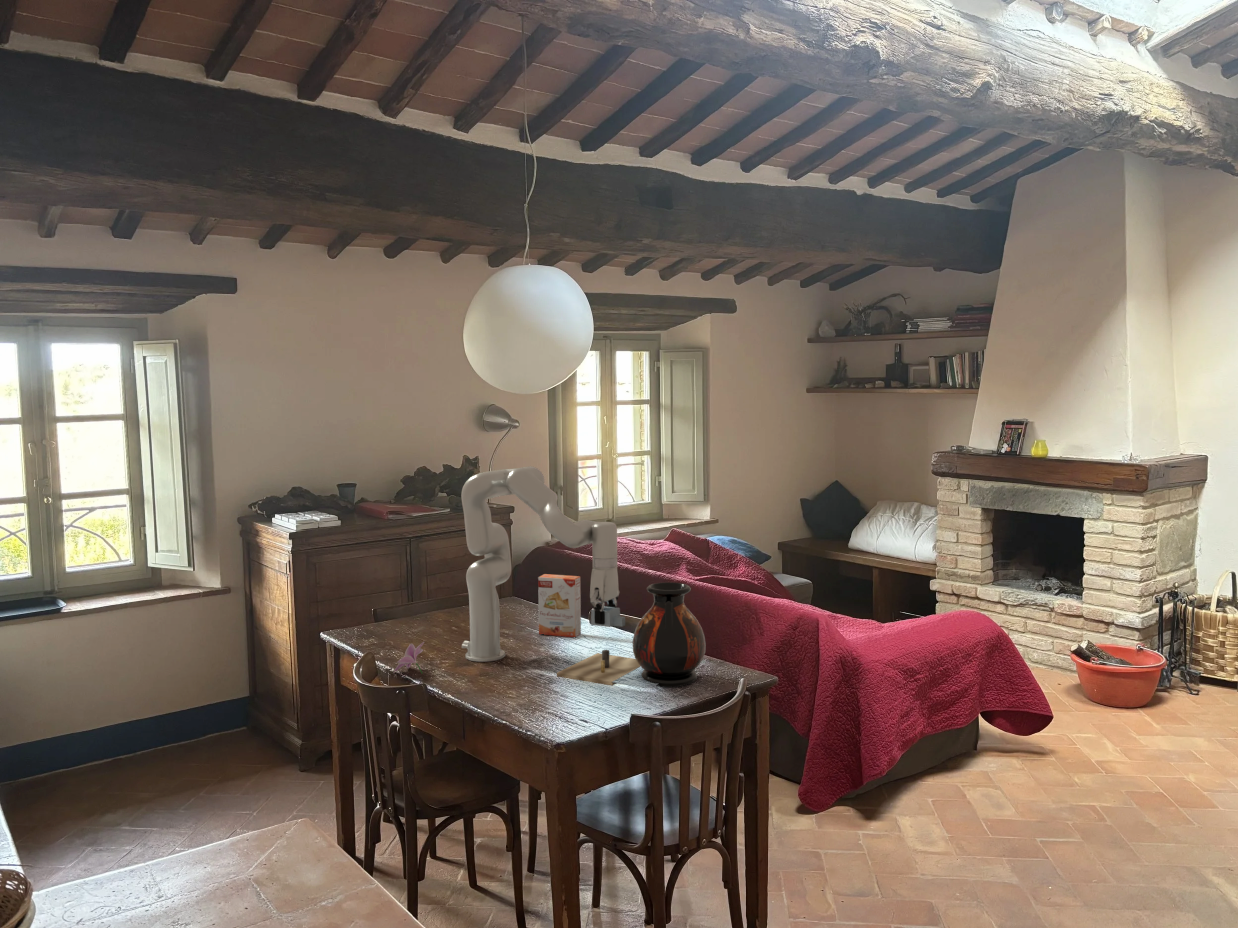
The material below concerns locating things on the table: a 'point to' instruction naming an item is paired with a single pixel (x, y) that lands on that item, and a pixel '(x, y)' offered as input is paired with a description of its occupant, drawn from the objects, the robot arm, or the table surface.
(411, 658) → the lily
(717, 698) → the table surface
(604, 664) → the cylinder
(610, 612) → the grey square hole block
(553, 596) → the cracker box
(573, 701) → the table surface
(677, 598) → the black orange vase
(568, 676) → the post base
